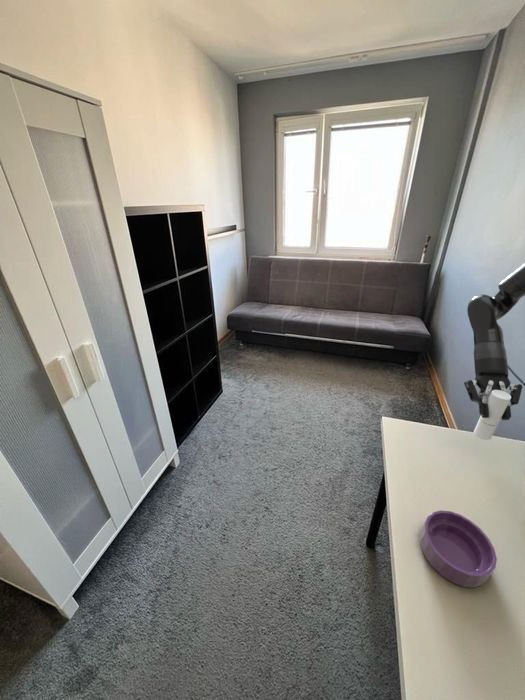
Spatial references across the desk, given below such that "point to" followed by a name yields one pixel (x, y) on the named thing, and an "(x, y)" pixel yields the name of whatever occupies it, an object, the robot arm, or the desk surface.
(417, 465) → the desk surface
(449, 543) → the bowl
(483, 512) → the desk surface
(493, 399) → the tube
